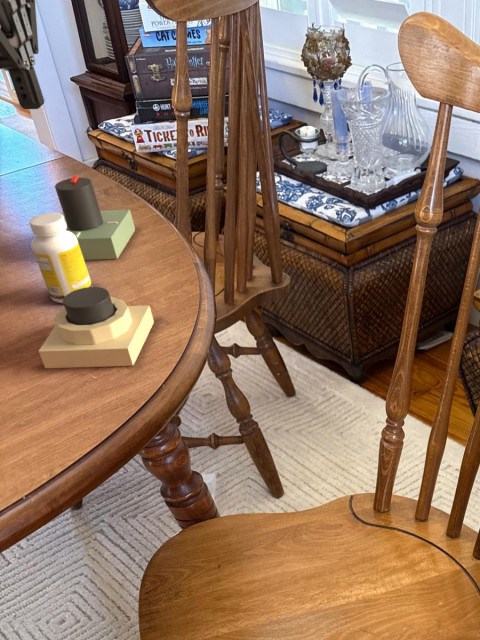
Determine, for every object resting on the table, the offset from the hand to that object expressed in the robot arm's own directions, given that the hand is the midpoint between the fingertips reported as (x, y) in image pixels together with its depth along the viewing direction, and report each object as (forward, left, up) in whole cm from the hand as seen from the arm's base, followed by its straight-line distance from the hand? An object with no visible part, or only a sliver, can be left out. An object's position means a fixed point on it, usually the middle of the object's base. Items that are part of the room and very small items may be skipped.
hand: (33, 106), depth 85 cm
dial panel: (-5, +16, -22) cm, 28 cm away
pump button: (+5, -13, -18) cm, 23 cm away
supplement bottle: (-3, 0, -22) cm, 22 cm away
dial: (-5, +16, -19) cm, 25 cm away
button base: (+5, -13, -22) cm, 26 cm away
